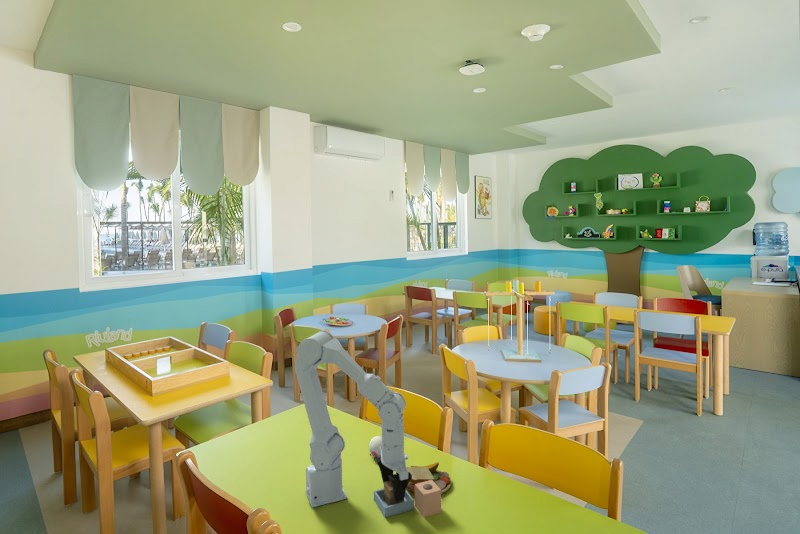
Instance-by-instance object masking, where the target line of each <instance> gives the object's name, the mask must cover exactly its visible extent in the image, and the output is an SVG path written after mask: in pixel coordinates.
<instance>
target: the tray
mask: <svg viewBox="0 0 800 534" xmlns="http://www.w3.org/2000/svg"><path fill="white" fill-rule="evenodd" d="M373 502H375V505H376V506H377V508H378V509H379V511H380V512H381V514H382V516H383V518H386V519H387V518H389V517H392V516H396V515H399V514H402V513H406V512H411V511H413V510H415V499H414V498H413V497H412V495H410V493H409V492H408V491H407V490H406V492H405V496H404V502H401V503H397V504H394V505H390V506H387V504H386V502H385V501H384V487H383V488H381V489H377V490H373Z"/></svg>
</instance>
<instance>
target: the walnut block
mask: <svg viewBox="0 0 800 534" xmlns="http://www.w3.org/2000/svg"><path fill="white" fill-rule="evenodd" d="M383 488H384V501H385V502H386V504H387V506H390V505H394V504H397V503H401V502H404V499H403V500H402V501H398V502H396V501H395V499H394V493H393V487H392V483H391V481H387V482H384V484H383Z"/></svg>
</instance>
